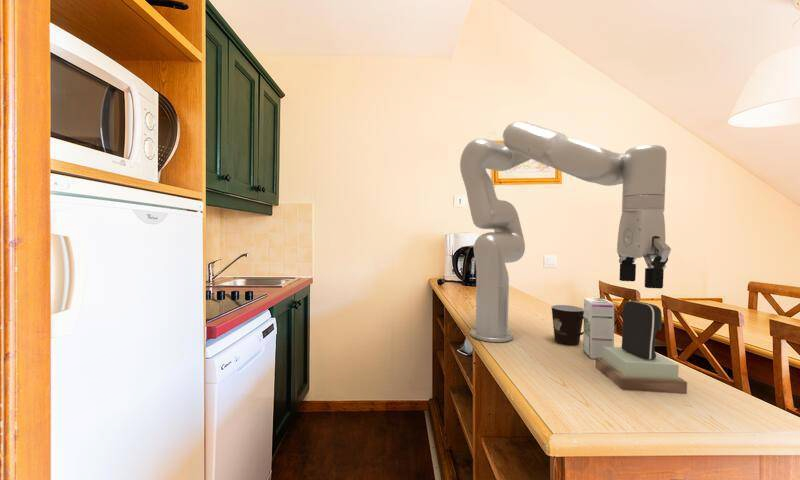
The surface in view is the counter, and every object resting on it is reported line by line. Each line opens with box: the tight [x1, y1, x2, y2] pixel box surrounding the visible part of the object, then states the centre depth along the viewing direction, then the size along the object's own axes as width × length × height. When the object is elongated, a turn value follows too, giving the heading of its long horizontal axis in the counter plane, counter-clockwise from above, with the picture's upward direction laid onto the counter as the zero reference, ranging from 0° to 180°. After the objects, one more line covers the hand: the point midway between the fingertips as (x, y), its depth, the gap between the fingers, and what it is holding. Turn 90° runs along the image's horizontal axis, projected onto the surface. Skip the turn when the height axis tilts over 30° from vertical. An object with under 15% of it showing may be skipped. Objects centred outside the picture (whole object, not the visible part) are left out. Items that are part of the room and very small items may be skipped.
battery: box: [621, 300, 663, 359], centre depth 75 cm, size 7×4×11 cm, turn 11°
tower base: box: [595, 357, 688, 395], centre depth 76 cm, size 12×12×3 cm
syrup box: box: [582, 297, 615, 360], centre depth 90 cm, size 6×6×14 cm
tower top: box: [602, 346, 679, 380], centre depth 75 cm, size 10×10×3 cm
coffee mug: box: [551, 304, 584, 347], centre depth 99 cm, size 12×9×10 cm
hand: (639, 284), depth 75 cm, fingers open, 9 cm apart
